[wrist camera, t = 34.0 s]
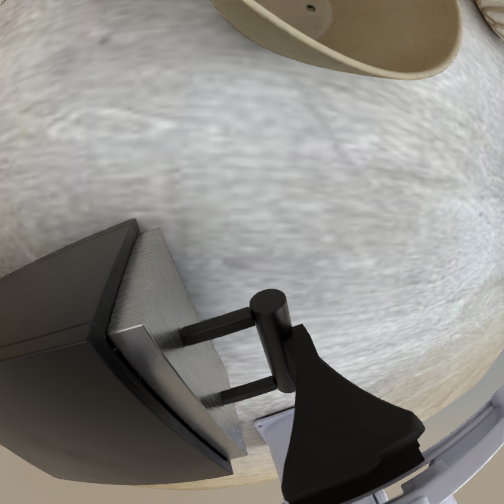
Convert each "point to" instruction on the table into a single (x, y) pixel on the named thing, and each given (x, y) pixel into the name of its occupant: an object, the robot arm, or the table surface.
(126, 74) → the table surface
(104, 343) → the black box
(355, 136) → the table surface
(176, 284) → the drawer
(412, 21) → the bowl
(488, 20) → the vase
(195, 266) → the table surface
